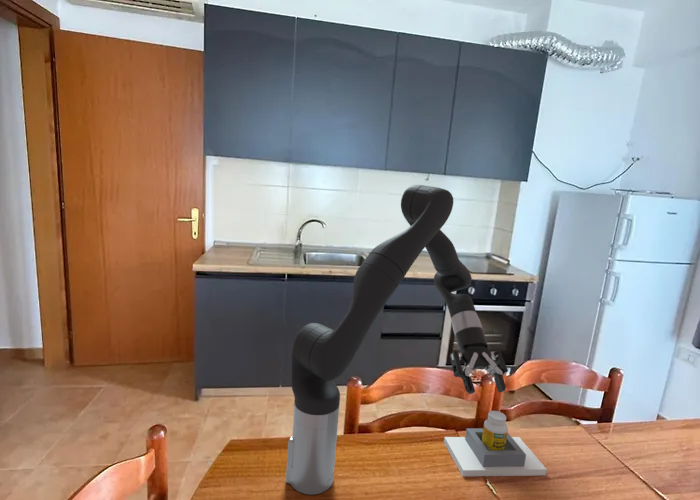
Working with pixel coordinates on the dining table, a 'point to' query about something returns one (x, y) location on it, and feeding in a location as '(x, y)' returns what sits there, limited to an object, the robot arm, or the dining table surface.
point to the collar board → (492, 456)
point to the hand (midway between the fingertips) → (487, 392)
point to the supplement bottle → (495, 431)
